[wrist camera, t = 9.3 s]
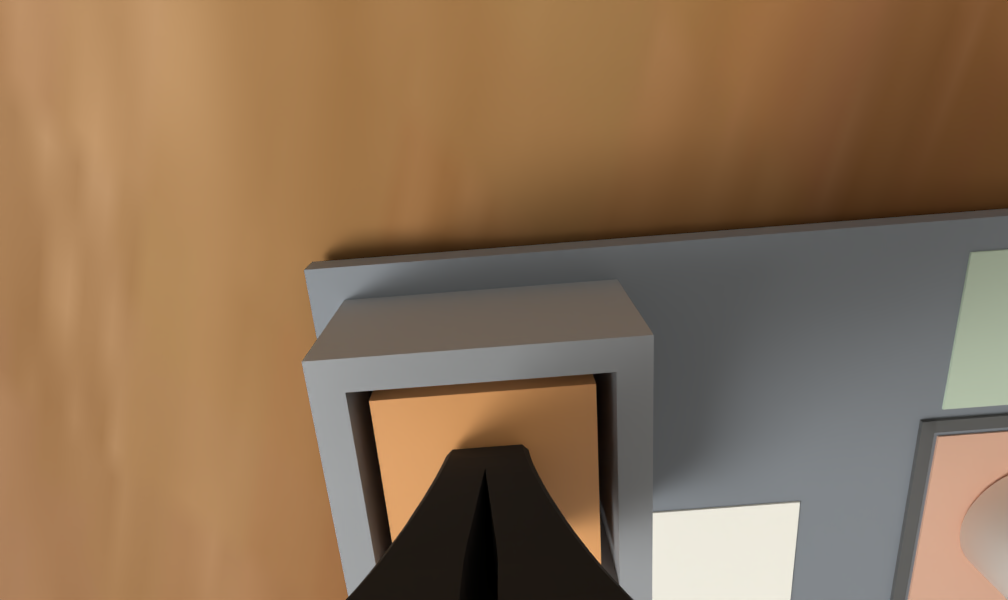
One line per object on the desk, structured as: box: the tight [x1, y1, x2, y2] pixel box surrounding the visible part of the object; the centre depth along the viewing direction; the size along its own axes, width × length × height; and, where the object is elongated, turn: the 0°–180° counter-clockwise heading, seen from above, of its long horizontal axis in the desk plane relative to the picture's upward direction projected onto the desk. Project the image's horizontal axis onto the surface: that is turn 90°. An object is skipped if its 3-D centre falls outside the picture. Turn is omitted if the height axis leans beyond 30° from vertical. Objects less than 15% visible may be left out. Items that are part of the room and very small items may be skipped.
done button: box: [369, 374, 601, 564], centre depth 12 cm, size 4×4×2 cm
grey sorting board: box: [302, 208, 1008, 600], centre depth 13 cm, size 11×21×4 cm, turn 94°
